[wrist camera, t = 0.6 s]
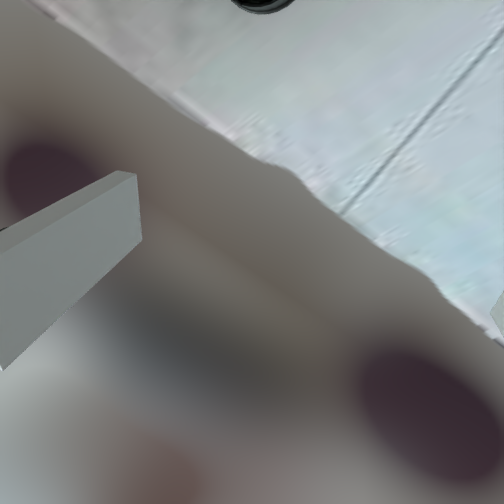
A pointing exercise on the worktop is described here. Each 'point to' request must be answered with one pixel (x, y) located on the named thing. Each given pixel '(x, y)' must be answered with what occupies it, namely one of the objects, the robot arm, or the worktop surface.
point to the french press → (262, 5)
